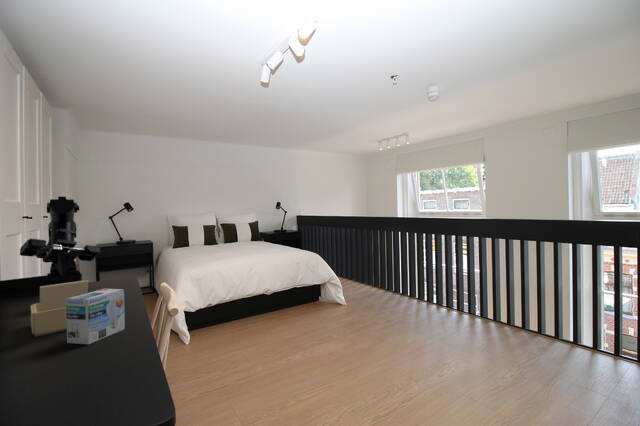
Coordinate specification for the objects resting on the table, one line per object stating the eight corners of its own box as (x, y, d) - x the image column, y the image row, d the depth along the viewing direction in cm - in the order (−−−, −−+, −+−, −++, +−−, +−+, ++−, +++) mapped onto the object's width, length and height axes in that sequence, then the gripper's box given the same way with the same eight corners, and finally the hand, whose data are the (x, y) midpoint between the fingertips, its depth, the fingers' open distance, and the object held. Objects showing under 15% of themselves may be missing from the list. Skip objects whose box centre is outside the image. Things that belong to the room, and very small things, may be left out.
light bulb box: (88, 345, 71) (87, 299, 71) (65, 343, 73) (64, 298, 73) (126, 328, 82) (125, 288, 82) (105, 327, 83) (104, 287, 83)
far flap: (39, 286, 75) (40, 287, 75) (88, 279, 82) (88, 280, 82) (39, 310, 78) (39, 311, 78) (86, 302, 85) (86, 303, 85)
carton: (30, 325, 87) (30, 304, 87) (85, 314, 95) (85, 295, 96) (32, 337, 77) (31, 313, 77) (93, 324, 86) (92, 302, 86)
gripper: (82, 247, 109) (84, 288, 102) (12, 240, 93) (9, 286, 87) (99, 231, 106) (102, 271, 99) (30, 220, 90) (28, 267, 83)
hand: (63, 274), depth 92 cm, fingers closed
